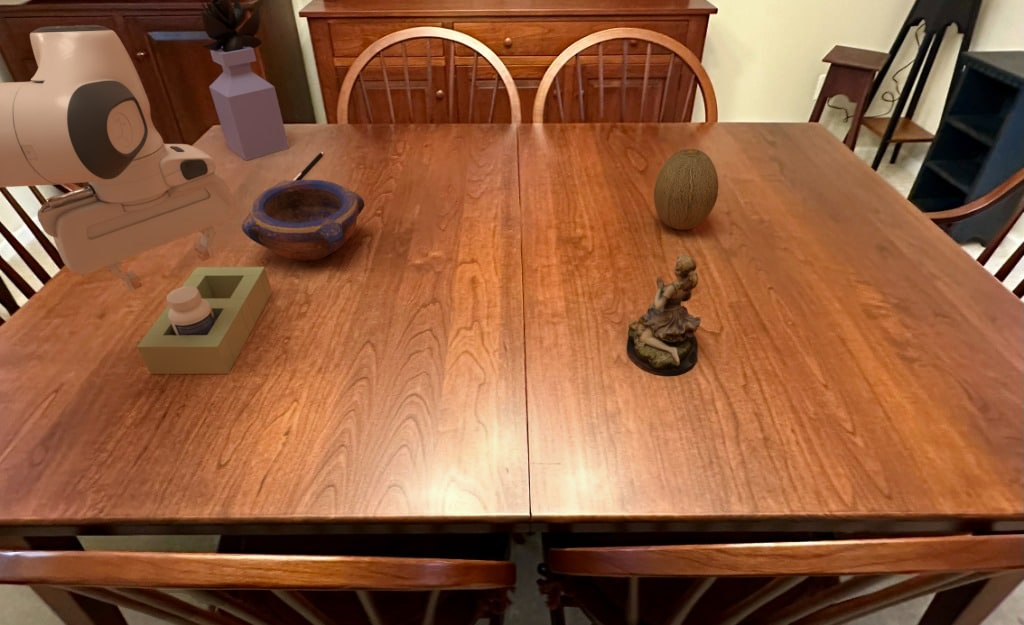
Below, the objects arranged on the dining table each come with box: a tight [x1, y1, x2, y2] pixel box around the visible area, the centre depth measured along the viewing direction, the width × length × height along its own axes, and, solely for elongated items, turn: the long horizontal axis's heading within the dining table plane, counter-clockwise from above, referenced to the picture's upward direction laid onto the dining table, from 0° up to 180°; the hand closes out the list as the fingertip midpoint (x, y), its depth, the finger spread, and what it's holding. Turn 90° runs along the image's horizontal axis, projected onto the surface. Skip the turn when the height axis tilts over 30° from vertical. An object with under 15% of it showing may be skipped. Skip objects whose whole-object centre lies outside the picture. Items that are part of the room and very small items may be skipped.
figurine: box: [626, 253, 702, 377], centre depth 83 cm, size 12×11×15 cm
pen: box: [293, 151, 325, 180], centre depth 135 cm, size 1×19×1 cm, turn 172°
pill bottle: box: [166, 286, 216, 335], centre depth 84 cm, size 5×5×10 cm
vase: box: [200, 0, 290, 162], centre depth 135 cm, size 14×12×35 cm
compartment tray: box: [136, 266, 273, 375], centre depth 89 cm, size 19×11×5 cm, turn 0°
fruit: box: [653, 148, 719, 231], centre depth 110 cm, size 11×11×15 cm
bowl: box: [241, 179, 366, 262], centre depth 106 cm, size 18×18×10 cm
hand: (171, 271), depth 79 cm, fingers open, 8 cm apart
